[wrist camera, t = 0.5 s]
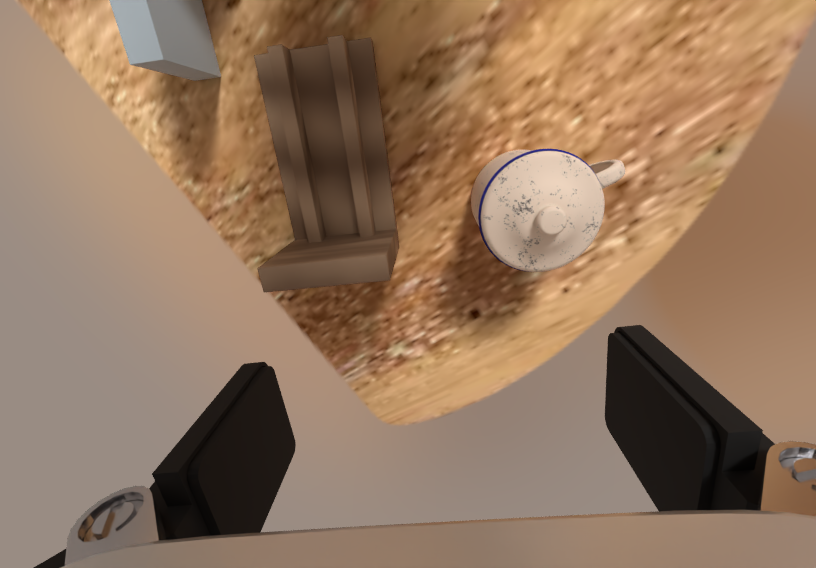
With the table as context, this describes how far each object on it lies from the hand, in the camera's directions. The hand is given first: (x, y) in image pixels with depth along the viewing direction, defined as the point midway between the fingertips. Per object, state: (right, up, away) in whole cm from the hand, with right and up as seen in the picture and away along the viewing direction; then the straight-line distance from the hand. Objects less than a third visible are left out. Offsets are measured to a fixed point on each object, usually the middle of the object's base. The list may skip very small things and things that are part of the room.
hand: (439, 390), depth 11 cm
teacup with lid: (+11, +12, +26) cm, 30 cm away
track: (-8, +15, +25) cm, 30 cm away
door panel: (-19, +25, +22) cm, 39 cm away
